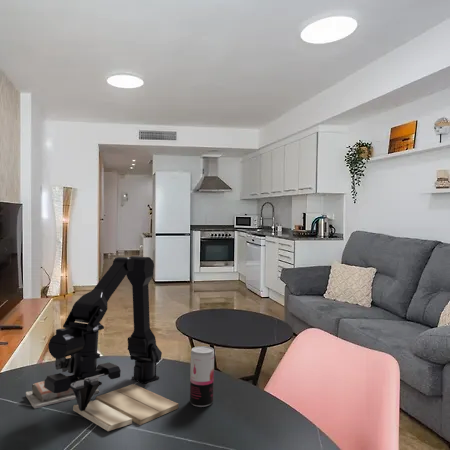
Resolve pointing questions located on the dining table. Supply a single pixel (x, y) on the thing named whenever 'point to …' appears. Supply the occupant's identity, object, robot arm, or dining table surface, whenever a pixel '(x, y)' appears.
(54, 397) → the packaged product
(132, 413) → the laid floor
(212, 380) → the beverage can
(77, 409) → the plank
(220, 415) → the dining table surface
